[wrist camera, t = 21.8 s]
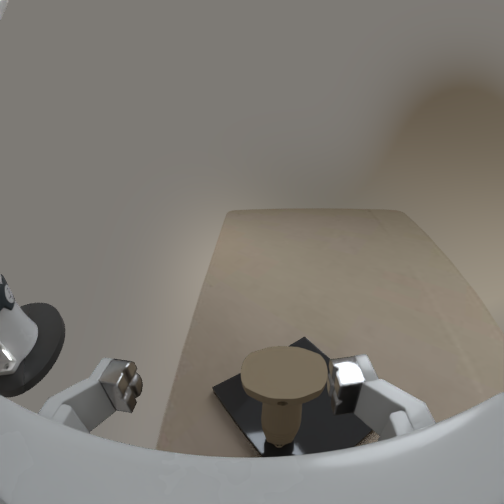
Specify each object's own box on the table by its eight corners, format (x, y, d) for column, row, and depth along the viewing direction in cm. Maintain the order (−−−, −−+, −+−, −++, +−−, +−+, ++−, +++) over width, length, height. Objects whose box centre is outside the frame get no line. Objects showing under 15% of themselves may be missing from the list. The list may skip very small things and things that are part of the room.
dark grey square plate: (293, 492, 20) (293, 491, 20) (213, 390, 34) (211, 387, 33) (389, 413, 27) (391, 410, 27) (304, 340, 41) (304, 336, 40)
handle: (306, 454, 24) (329, 398, 16) (250, 452, 25) (236, 395, 17) (307, 420, 28) (325, 346, 20) (254, 418, 29) (245, 344, 21)
